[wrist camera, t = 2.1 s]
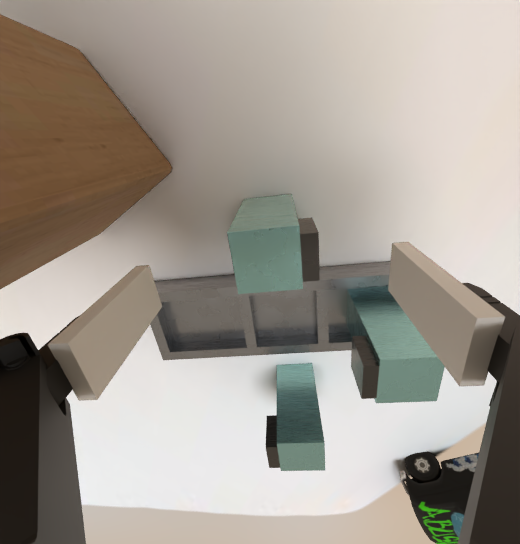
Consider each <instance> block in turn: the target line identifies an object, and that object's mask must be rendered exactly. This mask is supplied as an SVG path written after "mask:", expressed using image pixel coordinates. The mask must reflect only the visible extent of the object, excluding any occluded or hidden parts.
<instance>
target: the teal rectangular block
mask: <svg viewBox="0 0 520 544" xmlns="http://www.w3.org/2000/svg"><path fill="white" fill-rule="evenodd" d="M227 235H228V240H229V246H230V251H231V257H232V262H233V268H234V273H235V279H236V285H237V290H238V294H246V293H260V292H273V291H286V290H299V289H303V282H308V281H320V274H319V239H318V230H317V228H316V226H315V224H314V221H313V219H312V218H304V219H298V218H297V214H296V210H295V206H294V202H293V198H292V194H286V195H277V196H268V197H259V198H250V199H244V201H243V202H242V204H241V206H240V208H239V210H238V212H237V214H236V216H235V218H234V220H233V222H232V224H231V226H230V228H229V230H228V232H227Z"/></svg>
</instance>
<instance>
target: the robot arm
mask: <svg viewBox="0 0 520 544" xmlns="http://www.w3.org/2000/svg"><path fill="white" fill-rule="evenodd" d="M388 291H389V292H390V293H391V295H392V296H393V297H394V299H395V300H396V301H397V303H398V304H399V305H400V307H401V308H402V309H403V311H404V312H405V314H406V315H407V316H408V318H409V319H410V320H411V322H412V323H413V324H414V326H415V327H416V328H417V330H418V331H419V332H420V334H421V335H422V336H423V338H424V339H425V340H426V342H427V343H428V344H429V346H430V347H431V349H432V350H433V351H434V353H435V354H436V355H437V357H438V358H439V359H440V361H441V362H442V363H443V365H444V366H445V367H446V369H447V370H448V371H449V373H450V374H451V375H452V377H453V378H454V380H455V381H456V382H457V384H458V385H459V386H481V385H484V384H485V381H486V377H487V374H488V371H489V373H490V374H491V375H492V376H493V377H494V378H495V379H496V380H497V383H496V386H495V389H494V392H493V395H492V398H491V401H490V404H489V406H490V410H489V415H488V419H487V423H486V427H485V431H484V435H483V440H482V444H481V448H480V452H479V456H478V460H477V465H476V469H475V473H474V477H473V481H472V486H471V490H470V494H469V498H468V502H467V506H466V511H465V515H464V519H463V523H462V527H461V531H460V536H459V540H458V544H520V315H518V314H517V313H515V312H514V311H513V310H511V309H510V308H508V307H507V306H506V305H504V304H503V303H500V301H499V300H497V299H496V298H495V297H492V295H490V294H489V293H488V292H486V291H485V290H483V289H482V288H480V287H477V286H475V285H472V284H470V283H461V282H459V281H458V280H457V279H456V278H454V277H453V276H452V275H450V274H449V273H448V272H446V271H445V270H444V269H443V268H441V267H440V266H439V265H437V264H436V263H435V262H433V261H432V260H431V259H430V258H428V257H427V256H426V255H424V254H423V253H422V252H421V251H419V250H418V249H417V248H415V247H414V246H413V245H411V244H410V243H409V242H400V243H392V252H391V263H390V275H389V286H388ZM161 308H162V304H161V301H160V298H159V295H158V292H157V288H156V285H155V282H154V279H153V276H152V273H151V269H150V266H149V265H144V266H136V267H135V268H134V269H132V270H131V271H130V272H129V273H128V274H127V275H126V276H125V277H123V278H122V279H121V280H120V281H119V282H118V283H117V284H115V285H114V286H113V287H112V288H111V289H110V290H109V291H108V292H106V293H105V294H104V295H103V296H102V297H101V298H100V299H98V300H97V301H96V302H95V303H94V304H93V305H92V306H91V307H89V308H88V309H87V310H86V311H85V312H84V313H83V314H81V315H80V316H78V317H77V318H75V319H74V320H73V321H72V322H70V323H69V324H68V325H67V327H65V328H64V329H62V330H61V331H60V333H58V334H57V335H56V336H54V337H53V338H52V339H51V340H50V341H49V342H48V343H46V344H45V345H44V346H43V347H42V348H41V349H40V350H38V349H37V348H36V346H35V344H34V343H33V341H32V339H31V337H30V336H29V334H28V333H18V334H14V335H10V336H7V337H5V338H3V339H0V544H86V541H85V533H84V523H83V515H82V506H81V497H80V489H79V480H78V471H77V463H76V454H75V445H74V437H73V428H72V419H71V411H70V404H69V402H68V400H67V399H66V397H67V395H68V394H69V393H70V392H71V391H72V389H73V391H74V393H75V395H76V396H77V398H78V400H97V399H98V398H99V396H100V395H101V394H102V392H103V391H104V389H105V388H106V386H107V385H108V384H109V382H110V381H111V379H112V378H113V376H114V375H115V374H116V372H117V371H118V369H119V368H120V366H121V365H122V364H123V362H124V361H125V359H126V358H127V356H128V355H129V353H130V352H131V351H132V349H133V348H134V346H135V345H136V343H137V342H138V341H139V339H140V338H141V336H142V335H143V333H144V332H145V331H146V329H147V328H148V326H149V325H150V323H151V322H152V321H153V319H154V318H155V316H156V315H157V313H158V312H159V311H160V309H161Z"/></svg>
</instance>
